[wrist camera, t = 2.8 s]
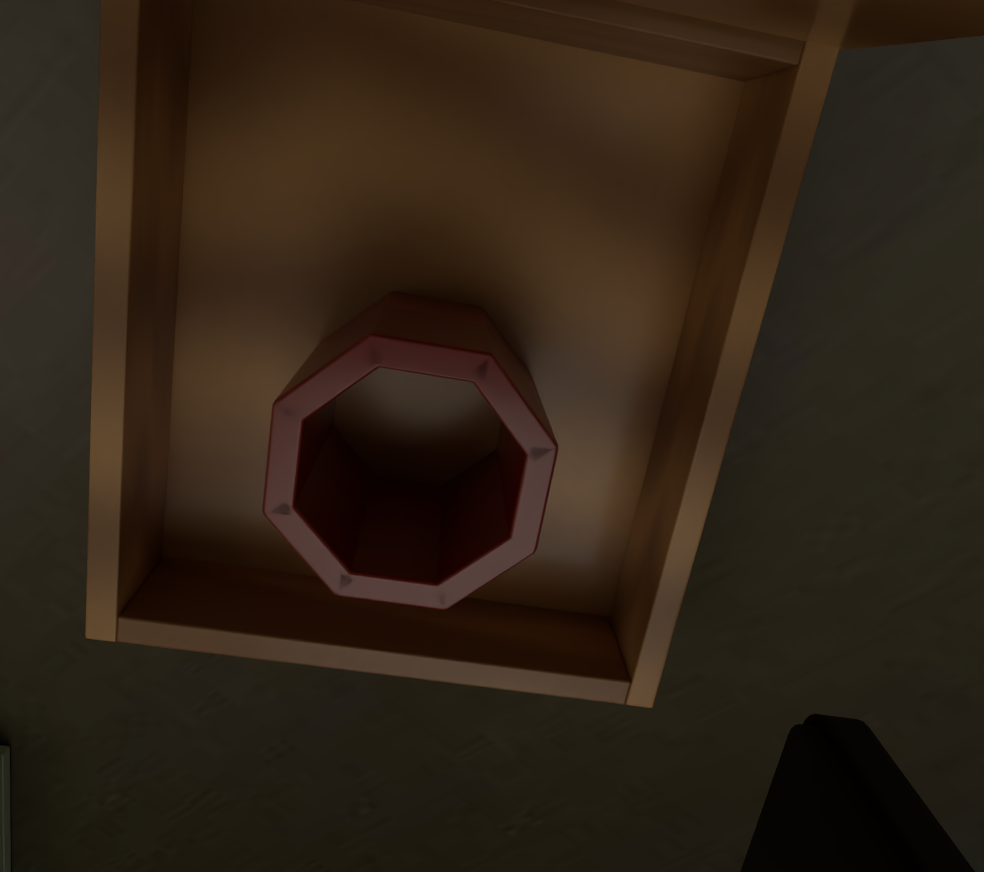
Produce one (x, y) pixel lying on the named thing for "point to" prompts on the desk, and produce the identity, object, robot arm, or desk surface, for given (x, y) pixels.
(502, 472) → the red octagonal tube
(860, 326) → the desk surface
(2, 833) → the tray
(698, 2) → the lid
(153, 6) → the chest
